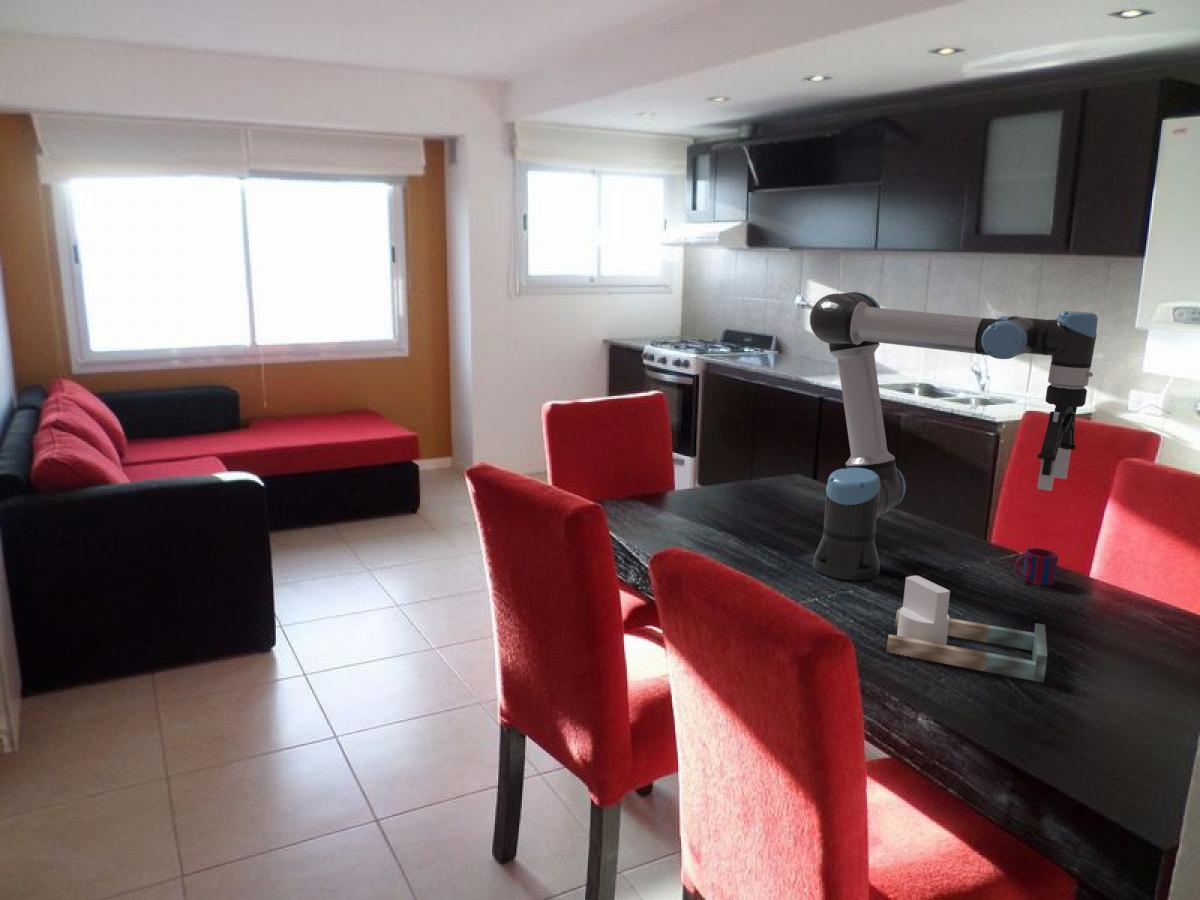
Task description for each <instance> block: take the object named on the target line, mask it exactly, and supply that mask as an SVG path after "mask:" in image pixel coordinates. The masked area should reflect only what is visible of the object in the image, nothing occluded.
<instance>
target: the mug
mask: <svg viewBox="0 0 1200 900" xmlns="http://www.w3.org/2000/svg"><path fill="white" fill-rule="evenodd" d="M1023 559H1024V564H1023V570H1022V572H1023V573H1021V572H1020V570H1019V569H1020V568H1019V566H1020V562H1021V561H1022V560H1023ZM1058 560H1059V554H1058V553H1057V552H1056V551H1054V550H1050V549H1046V548H1040V547H1030V548H1027V549H1026V550H1025V555H1020V556H1018V557H1017V558H1016V559H1015V563H1014V572H1015V573H1016V574H1017V575H1018V576H1020V577H1021V578H1022V580H1023V581H1024V582H1027V583H1029V584H1032V585H1037V586H1047V587H1048V586H1053V585H1054V584H1055V582H1056V575H1057V568H1058V567H1057V566H1058Z"/></svg>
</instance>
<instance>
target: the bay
mask: <svg viewBox="0 0 1200 900" xmlns="http://www.w3.org/2000/svg"><path fill="white" fill-rule="evenodd" d="M899 611H900V608H898V609H897V611H896V615H895V622H894V623H895V625H894V626H895V627H898V621H899ZM948 636H949V637H953V638H959V639H967V640H969V641H970V640H972V641H977V642H982V643H988V644H993V645H998V646H1005V647H1010V648H1015V649H1019V650H1020V649H1021V650H1026V651H1032V660H1030V659H1024V658H1018V657H1014V656H1013V657H1012V656H1009V655H1003V654H997V653H993V652H986V651H981V650H977V649H970V648H965V647H961V646H959V647H958V646H955V645H948V644H946V645H944V644H939V643H934V642H928V641H923V640H917V639H912V638H907V637H901V636H897V634H895V635H894V634H888V637H887V644H886V645H887V646H886V653H887V652H889V653H888V654H893V653H895V654H894V655H898V654H900V655H899V656H903V655H904V657H908V656H909V657H910V658H913V657H914V658H913V659H918V658H919V659H920V660H924V661H929V662H930V661H931V662H935V663H940V664H946V665H948V666H949V665H951V666H956V667H960V668H961V667H962V668H966V669H971V670H976V671H981V672H987V673H992V674H997V675H1003V676H1008V677H1013V678H1017V679H1023V680H1027V681H1031V682H1032V681H1033V682H1037V683H1038V682H1039V683H1044V682H1045V677H1046V668H1047V663H1048V662H1047V661H1048V648H1047V647H1048V646H1047V645H1048V644H1047V635H1046V624H1043V623H1035V624H1034V632H1033V631H1031V632H1030V631H1025V630H1019V629H1013V628H1008V627H1003V626H996V625H990V624H984V623H980V622H974V621H968V620H962V619H957V618H956V619H955V618H950V617H949V626H948V635H947V637H948Z"/></svg>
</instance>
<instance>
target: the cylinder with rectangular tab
mask: <svg viewBox="0 0 1200 900" xmlns="http://www.w3.org/2000/svg"><path fill="white" fill-rule="evenodd" d="M904 582H905V583H904V591H903V592H904V593H903V602H902V607H900V608H899V609H900V611H899V621H898V626H897V630H896V631H897V633H896V636H901V637H907V638H912V639H917V640H923V641H928V642H934V643H939V644H944V645H948V644H947V642H948V626H949V618H950V615H949V614H948V612H949V604H950V596H951V595H950V594H951V590H949V589H947V588H945V587H943V586H942V585H938V584H937V583H935V582H932V581H931V580H928V579H926V578H924V577H922V576H920V575H910V576H906V577H905V581H904Z"/></svg>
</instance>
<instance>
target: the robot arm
mask: <svg viewBox="0 0 1200 900" xmlns="http://www.w3.org/2000/svg"><path fill="white" fill-rule="evenodd" d="M1098 319H1099V318H1098V316H1097V314H1095V313H1093V312H1087V311H1071V310H1061V311H1059V312H1058V315H1057V317H1056V319H1045V318H1044V319H1043V318H1035V317H1034V318H1033V317H1023V316H1017V315H1013V316H1000V317H998V318H985V317H976V316H968V315H955V314H946V313H936V312H935V313H934V312H926V311H925V312H924V311H915V310H905V309H904V310H903V309H894V308H892V309H891V308H884V307H883V308H882V307H881V306H880V304H879V303H878V301H876V299H875V298H873V297H872V296H871V295H868V294H866V293H861V292H859V291H857V292H856V291H854V292H850V291H849V292H843V293H831V294H830V293H829V294H827V295H825V296H822V297H821V298H820V299H819V300H817V301H816V302H815V304H814V305H813V307H812V309H811V312H810V314H809V325H810V328H811V331H812V333H813V334H814V335H815V336H816V337H817V338H818V339H819V340H820V341H822V342H824V343H827V344H828V348H829V353H830V354H831V355H832V356H834V358H836V359H837V365H838V372H839V377H840V378H839V380H840V387H841V393H842V401H843V408H844V414H845V421H846V428H847V435H848V436H847V437H848V442H849V443H848V444H849V449H850V457H849V458H848V460H847V461H846V462H845V468H839V469H836V470H834V471H832V473H830V475H829V477H828V479H827V484H826V487H825V492H826V494H825V507H824V508H825V509H824V520H823V521H824V522H823V532H822V533H823V535H822V537H821V539H820V542H819V544H818V546H817V548H816V551H815V553H814V555H813V561H812V567H813V569H814V570H815V571H816V572H817V573H818V572H819V574H822V575H825V576H826V577H831V578H835V579H839V580H846V581H847V580H848V581H866V580H872V579H874V578H876V577H878V575H880V570H881V569H880V567H881V563H880V559H879V554H878V550H877V546H876V541H875V540H876V539H875V537H876V527H877V518H879V517H882V516H883V515H884V514H886V513H889V512H891V511H893V510H894V509H895V508H896V507H897V506H898V505H899V504H900V503H901V501H903V499H904V496H905V494H906V480H905V478H904V475H903V473H902V472H901V470H899V469H898V468H897V463H896V462H897V461H896V457H895V456H894V455H893V454H892V453H890V452H889V450H888V447H887V438H886V429H885V423H884V417H883V409H882V404H881V403H882V401H881V395H880V387H879V380H878V373H877V365H876V357H875V353H876V351H877V349H878V348H879V347H880V344H888V345H896V346H897V345H898V346H905V347H906V346H907V347H913V348H924V349H931V350H932V349H933V350H942V351H950V352H956V353H957V352H958V353H967V354H975V355H981V356H989V357H992V358H994V359H998V360H1009V359H1012V358H1015V357H1017V356H1020V355H1025V354H1028V355H1030V354H1031V355H1042V356H1051V360H1050V361H1051V362H1050V366H1049V373H1048V376H1047V377H1048V379H1047V382H1048V386H1047V388H1046V392H1045V393H1046V394H1045V402H1046V403H1047V404H1049V405H1054V407H1055V408H1054V411H1049V418H1048V422H1047V427H1046V430H1045V434H1044V437H1043V441H1042V445H1041V446H1042V447H1041V449H1040V452H1039V453H1037V459H1041V462H1040V468H1039V475H1038V481H1037V489H1038V490H1043V491H1049V492H1051V491H1053V487H1054V486H1053V485H1054V481H1055V479H1062V480H1063V479H1064V480H1067V478H1068V470H1069V466H1070V459H1071V458H1070V457H1071V454H1072V450H1076V448H1077V445H1076V444H1075V435H1076V434H1075V432H1076V416H1077V410H1078V408H1080V407H1083V406H1085V405H1086V399H1087V393H1088V390H1087V388H1086V387H1087V386H1088V385H1089V380H1090V378H1092V377H1093V375H1094V374H1093V371H1092V372H1091V368H1092V361H1093V358H1094V357H1093V356H1094V351H1095V345H1096V340H1097V328H1098Z"/></svg>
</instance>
